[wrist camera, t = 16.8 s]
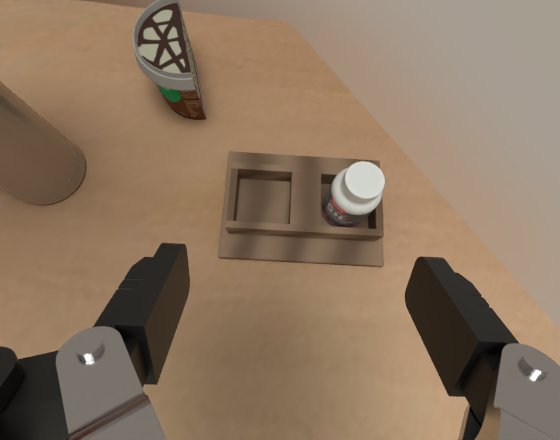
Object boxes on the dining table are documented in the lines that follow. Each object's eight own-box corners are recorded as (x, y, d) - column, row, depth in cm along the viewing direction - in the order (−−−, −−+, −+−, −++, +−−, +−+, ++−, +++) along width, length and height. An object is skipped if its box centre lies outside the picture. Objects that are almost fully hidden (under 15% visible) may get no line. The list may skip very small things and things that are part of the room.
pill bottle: (315, 221, 40) (330, 194, 30) (328, 184, 41) (345, 146, 32) (357, 235, 39) (385, 212, 30) (368, 197, 41) (398, 163, 31)
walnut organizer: (219, 258, 39) (214, 252, 35) (230, 155, 43) (226, 139, 39) (380, 266, 39) (393, 262, 36) (376, 164, 43) (387, 150, 39)
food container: (152, 62, 46) (122, -2, 37) (194, 56, 47) (175, -9, 37) (163, 136, 43) (133, 86, 34) (208, 128, 44) (191, 77, 34)
